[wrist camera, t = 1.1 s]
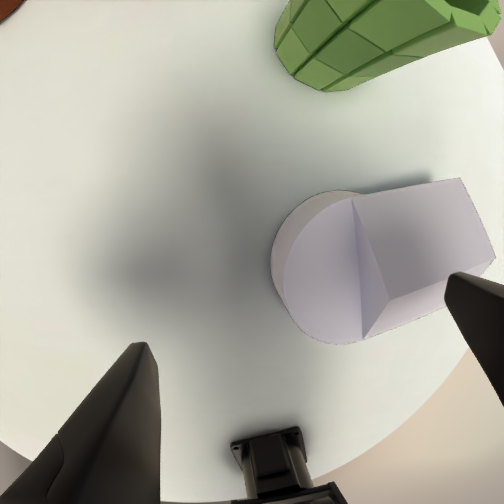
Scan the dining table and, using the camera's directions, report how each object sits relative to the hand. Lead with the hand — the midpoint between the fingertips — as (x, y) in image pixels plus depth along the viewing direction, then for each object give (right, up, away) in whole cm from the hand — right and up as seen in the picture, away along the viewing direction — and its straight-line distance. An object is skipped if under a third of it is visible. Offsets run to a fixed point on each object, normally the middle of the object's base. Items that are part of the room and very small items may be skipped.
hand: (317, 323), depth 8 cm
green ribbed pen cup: (+3, +15, +8) cm, 17 cm away
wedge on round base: (+6, +2, +12) cm, 14 cm away
